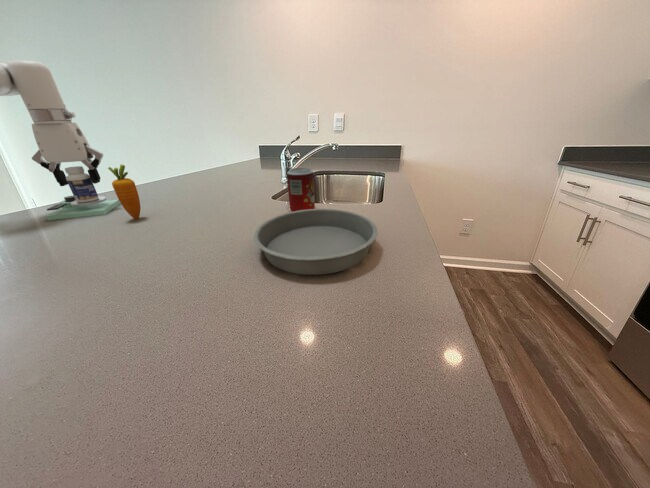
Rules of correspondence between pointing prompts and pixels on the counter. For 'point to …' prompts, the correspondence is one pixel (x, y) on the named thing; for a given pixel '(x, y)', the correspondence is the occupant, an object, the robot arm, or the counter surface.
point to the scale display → (57, 206)
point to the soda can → (301, 189)
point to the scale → (83, 210)
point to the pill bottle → (81, 184)
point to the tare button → (69, 198)
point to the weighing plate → (88, 202)
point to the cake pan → (316, 240)
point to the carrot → (126, 192)
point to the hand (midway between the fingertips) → (80, 183)
